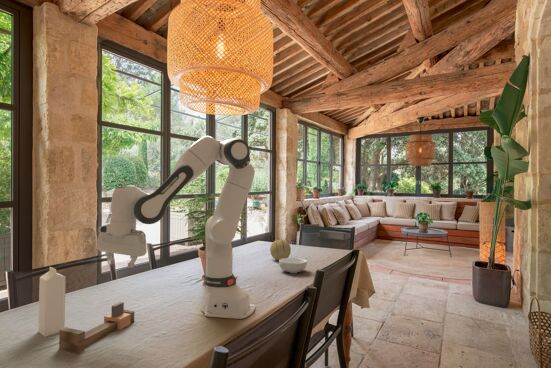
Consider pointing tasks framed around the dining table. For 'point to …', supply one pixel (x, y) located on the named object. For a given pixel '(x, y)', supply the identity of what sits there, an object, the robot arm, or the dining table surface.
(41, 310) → the milk
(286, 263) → the cereal bowl
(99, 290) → the dining table surface
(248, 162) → the robot arm
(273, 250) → the cantaloupe
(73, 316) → the dining table surface
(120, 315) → the slider
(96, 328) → the rail
